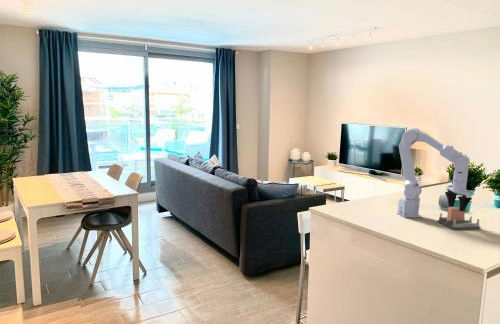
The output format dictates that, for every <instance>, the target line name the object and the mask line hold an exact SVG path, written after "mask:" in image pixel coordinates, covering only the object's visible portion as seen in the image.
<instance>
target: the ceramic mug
mask: <svg viewBox="0 0 500 324" xmlns="http://www.w3.org/2000/svg"><path fill="white" fill-rule="evenodd" d="M438 207H439V210H441V211H444V210H445V212H448V207H449V205H448V199H447V196H446V194H440V195H439V198H438Z"/></svg>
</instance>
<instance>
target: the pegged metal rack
mask: <svg viewBox="0 0 500 324" xmlns="http://www.w3.org/2000/svg"><path fill="white" fill-rule="evenodd" d="M472 217H473V216H472V215H469V219H465V218H466V217H465V216H464V220H455V219H454V220H448V219H449V217H448V216H443V213H440V214H439V217H438V219H437V220H436V223H438V224H440V225H442V226H444V227H446V228H448V229H450V230H452V231H456V230H457V231H458V230H459V231H460V230H462V231H463V230H481V226H480V218H477V220H476V222H473V220H472Z"/></svg>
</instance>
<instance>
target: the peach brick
mask: <svg viewBox="0 0 500 324" xmlns="http://www.w3.org/2000/svg"><path fill="white" fill-rule="evenodd" d="M465 212H466V210H465V211H460V210H459V206H457V207H448V211H447V216H448V217H449V219H448V220H454V219H455V220H464V217H465ZM447 216H446V217H447Z"/></svg>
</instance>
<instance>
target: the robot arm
mask: <svg viewBox="0 0 500 324" xmlns="http://www.w3.org/2000/svg"><path fill="white" fill-rule="evenodd" d="M416 142H421V143H425V144H427V145H429V146H430V147H432V148H434V149H435V150H437V151H439V156H441V157H443V158H444V159H446V160H448V161H449V162H451V163H452V164H454V170H453V176H452V185H451V186H446V189H445V190H446V191H445V192H444V193H445V194H444V195H446V196H447V199H448V205H449V207H453V206H454V203H455V199H456V196H457V199H458V201H459V206H458V207H459V210H460V211H465V212H466V209H467V207H468V205H469V203H470V202H471V201H472V200H473V198H472V193H471V192H469V191H468V189H467V183H468V175H469V165H470V164H471V160H470V159H471V158H470V157H468V155H467V154H463V152H461V151H458V150H456V149H455V148H454V145H449V144H446V145H444V144H442V143H441V142H440V141H438V140H437V139H435V138H434V137H432V136H431V135H429V134H428V133H426V132H425V131H423V130H420V129H419V128H417V127H415V128H409V129H406V130H405V131H404V133H403V134H401V139H400V141H399V144H398V150H399V155H400V160H401V167H402V171H403V176H404V184H403V185H404V191H403V195H404V197H403V198H399V200H398V204H397V212H396V214H398V215H399V216H401V217H403V218H408V219H409V218H423V216H422V215H420V213H419V212H420V203H421V201H420V200H421V198H420V196H421V194H422V191H423V190H422V187H421V185H420V184H419V181H418V179H417V178H416V177H417V176H416V173H415V167H414V166H415V165H414V162H413V156H412V152H411V148H412V147H413V145H414V144H415V143H416Z"/></svg>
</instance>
